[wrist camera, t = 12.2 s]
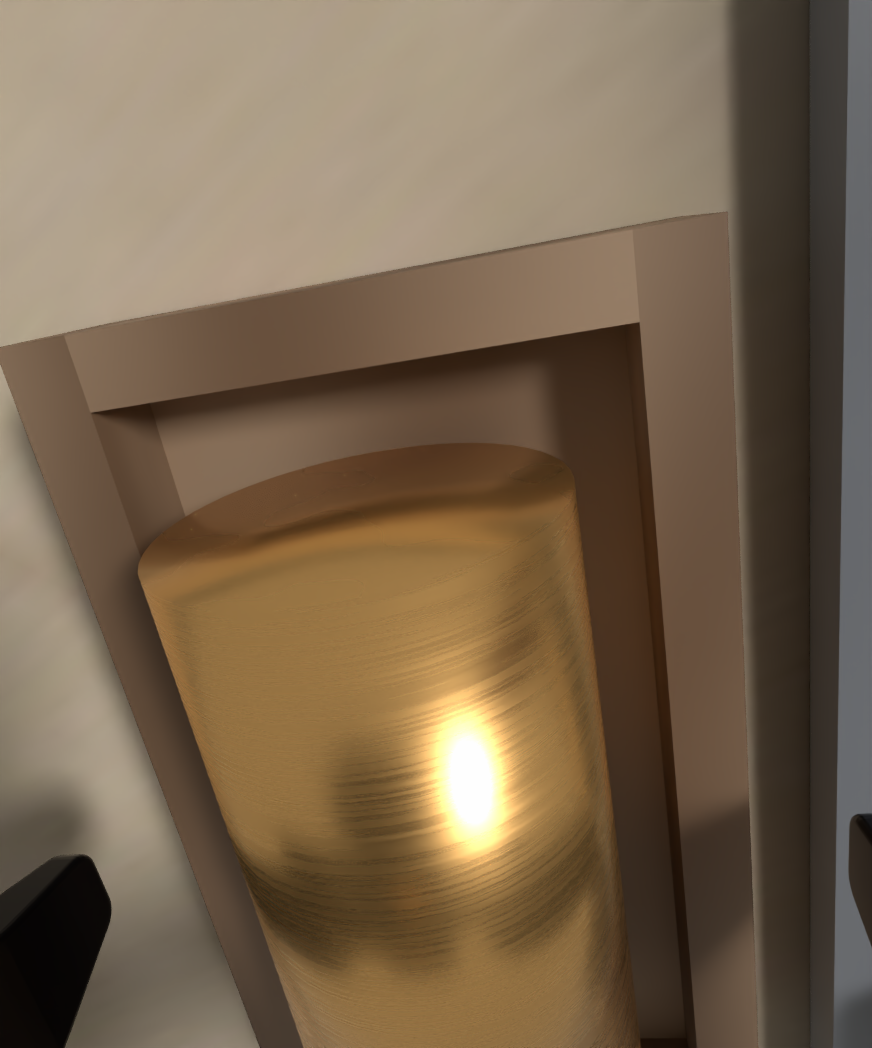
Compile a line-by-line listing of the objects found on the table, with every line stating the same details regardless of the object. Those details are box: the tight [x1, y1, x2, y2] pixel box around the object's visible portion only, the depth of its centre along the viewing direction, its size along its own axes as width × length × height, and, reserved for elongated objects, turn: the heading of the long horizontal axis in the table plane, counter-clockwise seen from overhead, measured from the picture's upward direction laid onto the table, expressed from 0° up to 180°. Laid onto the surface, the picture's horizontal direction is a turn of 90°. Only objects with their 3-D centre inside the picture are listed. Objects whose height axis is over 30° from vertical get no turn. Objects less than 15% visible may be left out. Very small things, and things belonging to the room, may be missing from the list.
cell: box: [138, 443, 641, 1048], centre depth 9 cm, size 4×10×4 cm, turn 10°
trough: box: [0, 212, 758, 1048], centre depth 10 cm, size 7×13×2 cm, turn 10°
